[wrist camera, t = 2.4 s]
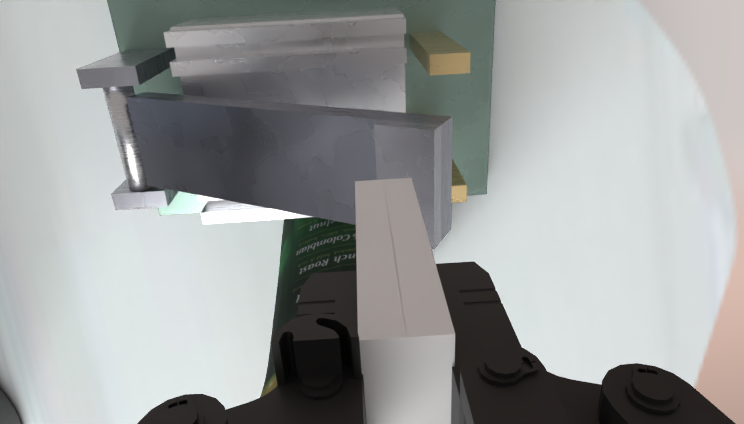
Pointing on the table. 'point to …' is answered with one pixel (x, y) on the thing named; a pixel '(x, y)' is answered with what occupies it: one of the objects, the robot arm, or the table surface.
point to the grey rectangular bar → (293, 154)
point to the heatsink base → (301, 73)
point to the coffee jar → (307, 266)
